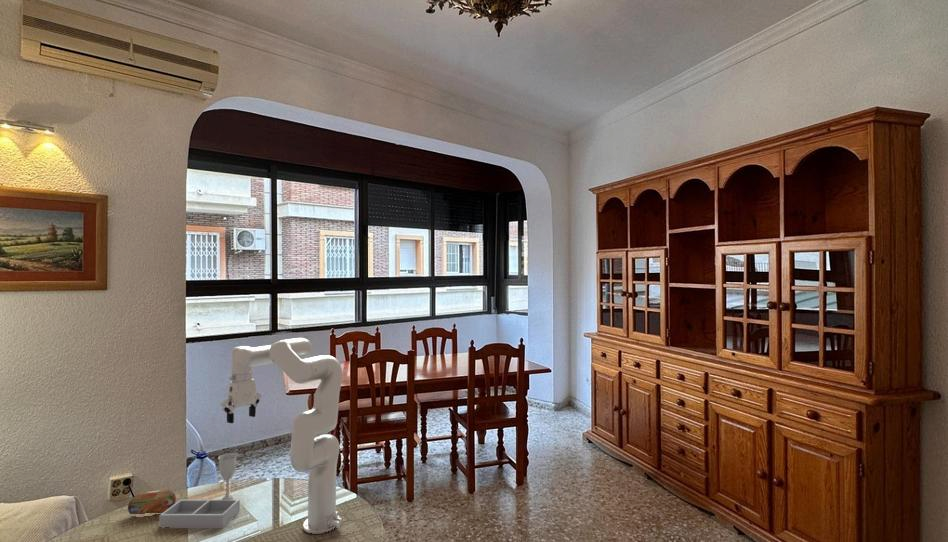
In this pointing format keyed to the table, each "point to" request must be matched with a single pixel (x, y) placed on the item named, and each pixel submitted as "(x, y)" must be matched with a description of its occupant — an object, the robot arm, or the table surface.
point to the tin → (152, 502)
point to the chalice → (227, 470)
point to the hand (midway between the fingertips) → (241, 419)
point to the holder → (200, 513)
